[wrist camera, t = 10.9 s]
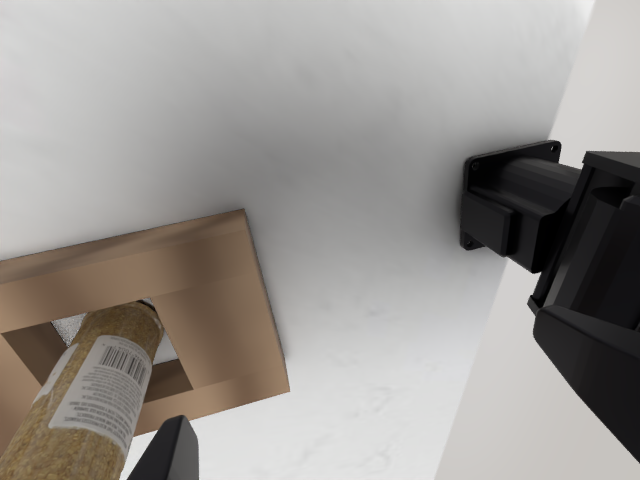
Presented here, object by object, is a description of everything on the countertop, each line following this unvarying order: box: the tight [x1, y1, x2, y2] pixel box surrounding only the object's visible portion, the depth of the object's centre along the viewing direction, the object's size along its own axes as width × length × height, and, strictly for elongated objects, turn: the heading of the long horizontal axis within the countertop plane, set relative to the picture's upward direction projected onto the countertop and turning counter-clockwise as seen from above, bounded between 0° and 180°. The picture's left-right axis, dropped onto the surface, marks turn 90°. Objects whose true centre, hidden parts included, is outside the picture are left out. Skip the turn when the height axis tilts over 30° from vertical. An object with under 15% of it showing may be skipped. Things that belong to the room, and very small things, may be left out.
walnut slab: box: [0, 209, 290, 458], centre depth 20 cm, size 18×12×3 cm, turn 98°
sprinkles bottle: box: [0, 301, 164, 480], centre depth 15 cm, size 5×5×14 cm
